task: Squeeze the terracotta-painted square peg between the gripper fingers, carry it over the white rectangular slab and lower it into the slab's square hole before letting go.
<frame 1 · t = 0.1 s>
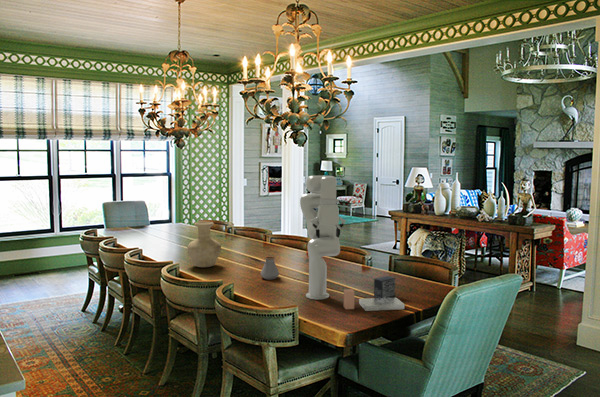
hand: (327, 237, 239), 37 cm above the table, tool pointing down, fingers open, 9 cm apart
white rectangular slab: (381, 306, 249), on the table
vase: (204, 266, 333), on the table
square peg: (348, 307, 247), on the table
small box: (384, 297, 266), on the table
coffee pot: (263, 279, 301), on the table
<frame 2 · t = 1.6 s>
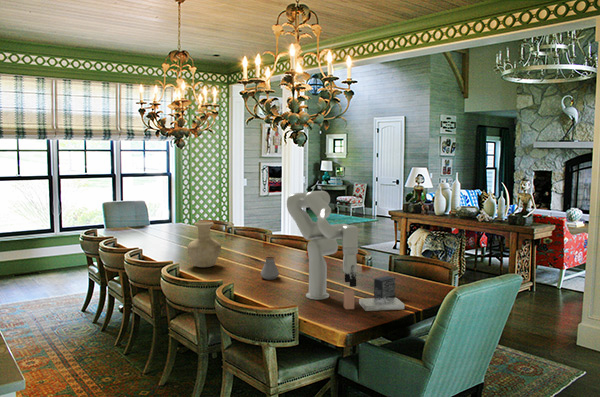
hand: (350, 284, 245), 12 cm above the table, tool pointing down, fingers open, 9 cm apart
nothing on the table moved.
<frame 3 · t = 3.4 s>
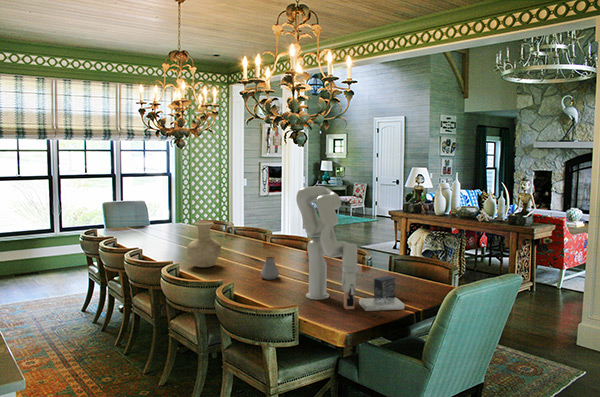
hand: (348, 304, 246), 2 cm above the table, tool pointing down, fingers closed on square peg, 4 cm apart
square peg: (348, 307, 247), on the table, touching gripper
everything else where it was.
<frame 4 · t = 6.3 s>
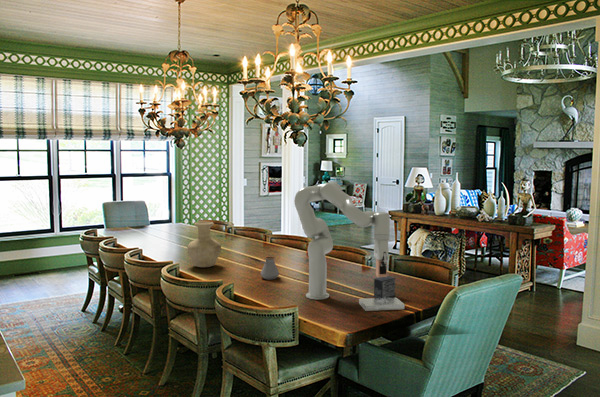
hand: (381, 272, 247), 18 cm above the table, tool pointing down, fingers closed on square peg, 4 cm apart
square peg: (381, 276, 248), point 16 cm above the table, touching gripper
everything else where it was.
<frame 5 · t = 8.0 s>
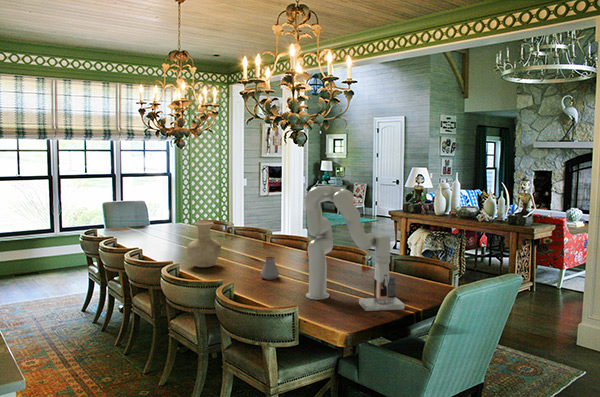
hand: (382, 294, 249), 6 cm above the table, tool pointing down, fingers closed on square peg, 4 cm apart
square peg: (381, 298, 249), point 4 cm above the table, touching gripper
everything else where it was.
when the fingers open (3 cm above the table, at t = 9.3 s): square peg drops 1 cm, resting in white rectangular slab.
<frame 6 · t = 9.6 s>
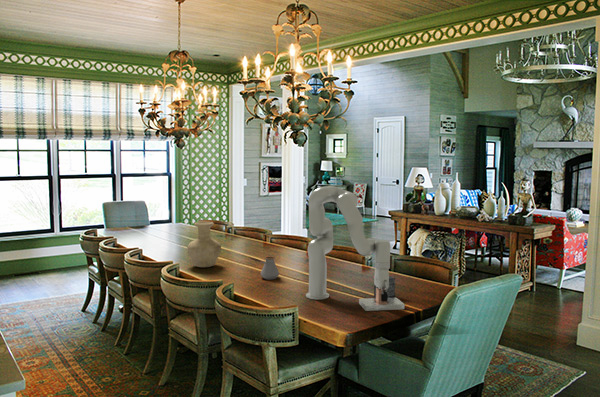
hand: (381, 298, 249), 4 cm above the table, tool pointing down, fingers open, 8 cm apart
square peg: (381, 306, 249), resting in white rectangular slab
everything else where it was.
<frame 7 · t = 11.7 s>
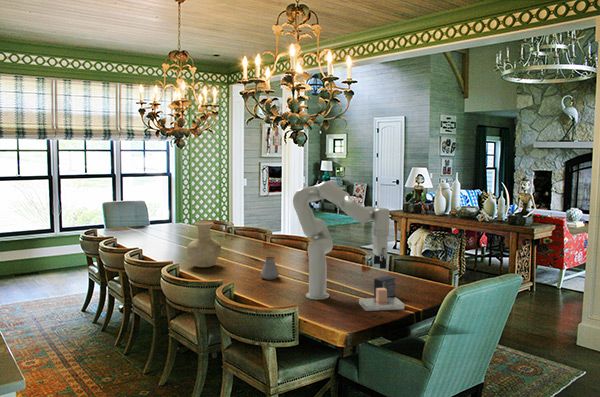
hand: (379, 266, 248), 21 cm above the table, tool pointing down, fingers open, 9 cm apart
nothing on the table moved.
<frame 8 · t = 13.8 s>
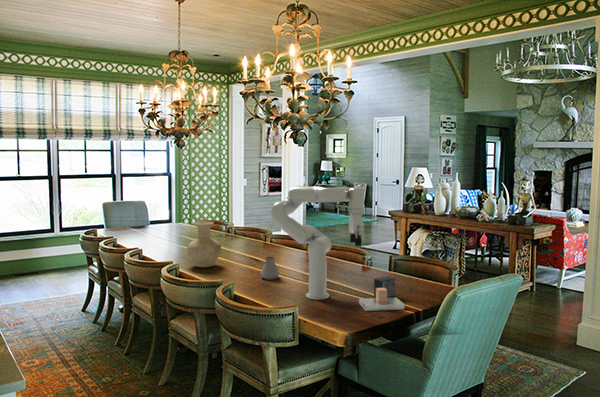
hand: (355, 244, 256), 30 cm above the table, tool pointing down, fingers open, 9 cm apart
nothing on the table moved.
at the end: square peg 0.1 cm off-centre on the white rectangular slab, point 0.0 cm above the white rectangular slab's base; square peg tilted 0°; the gripper is holding nothing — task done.
